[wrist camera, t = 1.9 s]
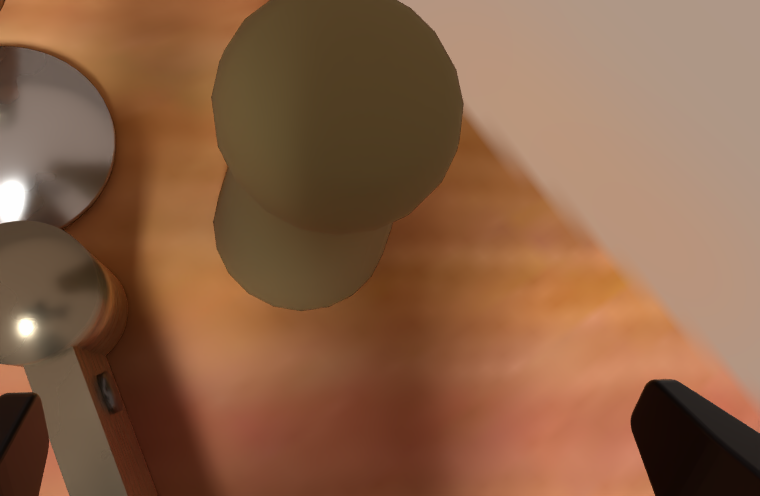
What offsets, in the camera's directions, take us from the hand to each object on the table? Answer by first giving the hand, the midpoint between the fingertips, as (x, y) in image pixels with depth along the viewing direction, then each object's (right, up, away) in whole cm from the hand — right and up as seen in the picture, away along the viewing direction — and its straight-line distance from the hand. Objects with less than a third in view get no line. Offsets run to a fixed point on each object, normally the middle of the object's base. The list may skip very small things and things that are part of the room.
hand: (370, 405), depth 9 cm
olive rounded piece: (-3, +3, +13) cm, 14 cm away
